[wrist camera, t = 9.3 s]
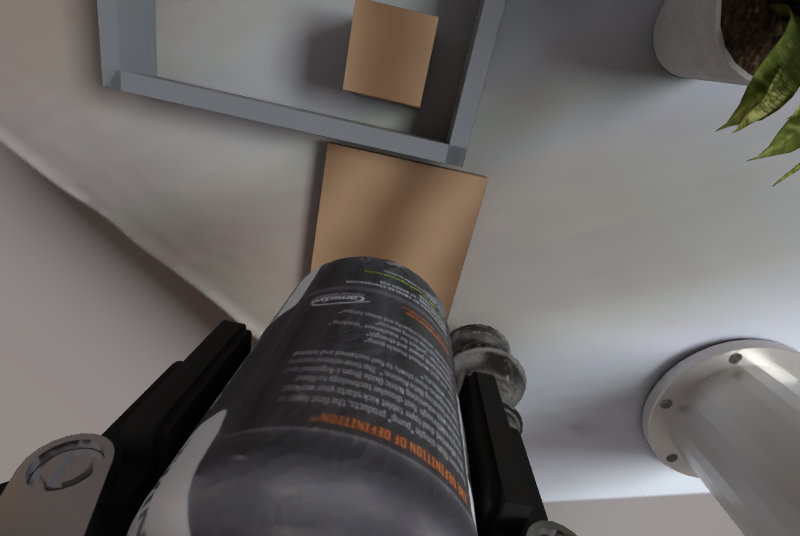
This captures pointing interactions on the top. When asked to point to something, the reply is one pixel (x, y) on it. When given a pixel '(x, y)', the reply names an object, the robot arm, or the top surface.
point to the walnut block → (389, 53)
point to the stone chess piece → (490, 364)
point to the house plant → (738, 56)
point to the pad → (397, 214)
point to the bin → (136, 73)
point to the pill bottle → (330, 422)
